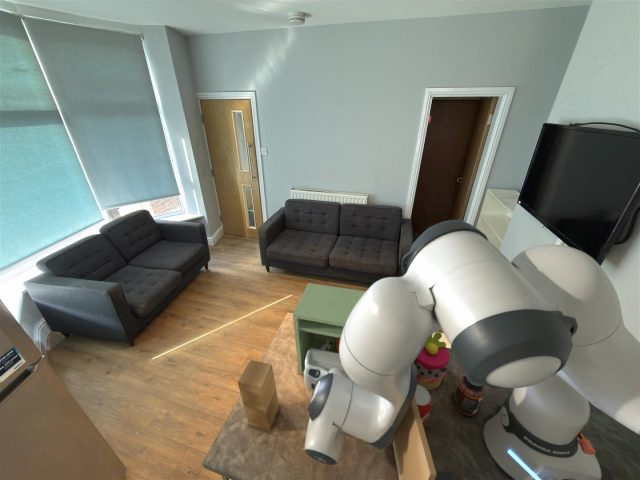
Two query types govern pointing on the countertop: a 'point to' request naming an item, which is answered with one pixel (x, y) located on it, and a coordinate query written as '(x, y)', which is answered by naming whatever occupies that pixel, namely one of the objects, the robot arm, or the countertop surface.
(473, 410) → the supplement bottle
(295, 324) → the cupboard
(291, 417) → the countertop surface
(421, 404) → the beverage can
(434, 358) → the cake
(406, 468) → the cupboard door
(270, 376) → the plinth
